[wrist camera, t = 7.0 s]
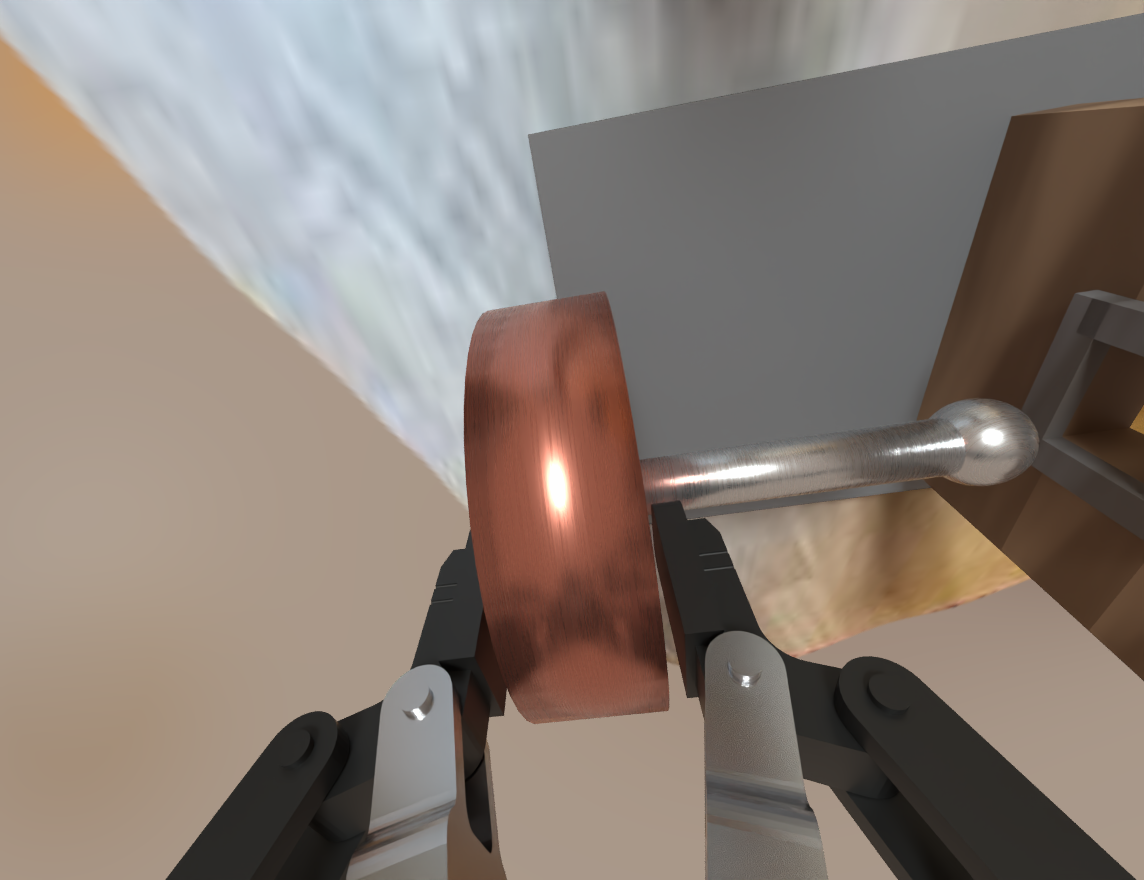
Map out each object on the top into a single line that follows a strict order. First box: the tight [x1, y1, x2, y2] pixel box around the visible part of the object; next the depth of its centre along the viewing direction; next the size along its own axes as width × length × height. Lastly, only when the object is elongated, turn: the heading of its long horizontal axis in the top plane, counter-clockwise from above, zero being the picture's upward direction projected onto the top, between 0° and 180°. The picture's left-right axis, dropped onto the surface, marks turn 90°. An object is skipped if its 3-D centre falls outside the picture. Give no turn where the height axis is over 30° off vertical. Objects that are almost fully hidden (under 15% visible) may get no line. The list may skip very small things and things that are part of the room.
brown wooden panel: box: [916, 98, 1144, 681], centre depth 13 cm, size 3×14×13 cm, turn 9°
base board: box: [528, 13, 1144, 524], centre depth 19 cm, size 21×18×2 cm
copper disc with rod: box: [464, 291, 1039, 724], centre depth 12 cm, size 14×11×11 cm
